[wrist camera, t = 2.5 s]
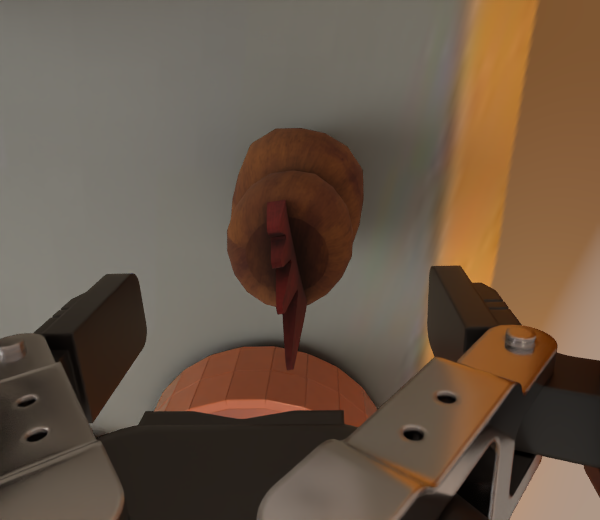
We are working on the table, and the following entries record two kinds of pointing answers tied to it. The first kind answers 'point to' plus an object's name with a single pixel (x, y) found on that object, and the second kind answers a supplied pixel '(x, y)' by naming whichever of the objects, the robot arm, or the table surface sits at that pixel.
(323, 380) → the bowl
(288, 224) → the wooden figurine
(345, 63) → the table surface
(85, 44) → the table surface
